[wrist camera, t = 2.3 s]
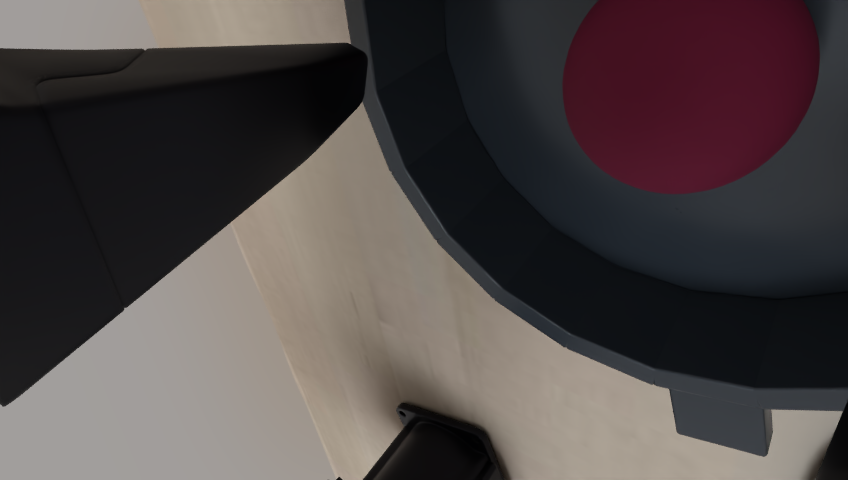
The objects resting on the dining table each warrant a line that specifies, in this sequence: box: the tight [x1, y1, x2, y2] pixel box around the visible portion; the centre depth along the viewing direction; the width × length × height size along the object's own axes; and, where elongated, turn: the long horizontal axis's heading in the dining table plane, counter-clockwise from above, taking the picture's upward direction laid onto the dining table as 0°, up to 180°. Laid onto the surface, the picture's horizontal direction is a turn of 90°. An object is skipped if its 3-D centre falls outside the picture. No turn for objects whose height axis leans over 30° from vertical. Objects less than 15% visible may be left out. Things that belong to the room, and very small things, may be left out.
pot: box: [344, 0, 848, 457], centre depth 12 cm, size 16×22×4 cm
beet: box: [562, 0, 820, 194], centre depth 12 cm, size 5×5×5 cm
